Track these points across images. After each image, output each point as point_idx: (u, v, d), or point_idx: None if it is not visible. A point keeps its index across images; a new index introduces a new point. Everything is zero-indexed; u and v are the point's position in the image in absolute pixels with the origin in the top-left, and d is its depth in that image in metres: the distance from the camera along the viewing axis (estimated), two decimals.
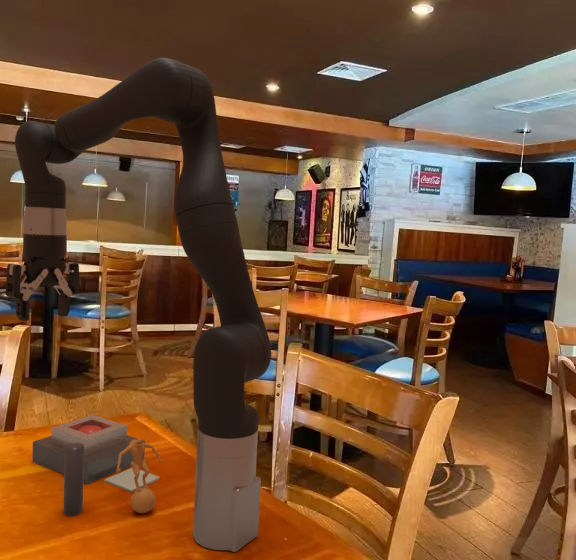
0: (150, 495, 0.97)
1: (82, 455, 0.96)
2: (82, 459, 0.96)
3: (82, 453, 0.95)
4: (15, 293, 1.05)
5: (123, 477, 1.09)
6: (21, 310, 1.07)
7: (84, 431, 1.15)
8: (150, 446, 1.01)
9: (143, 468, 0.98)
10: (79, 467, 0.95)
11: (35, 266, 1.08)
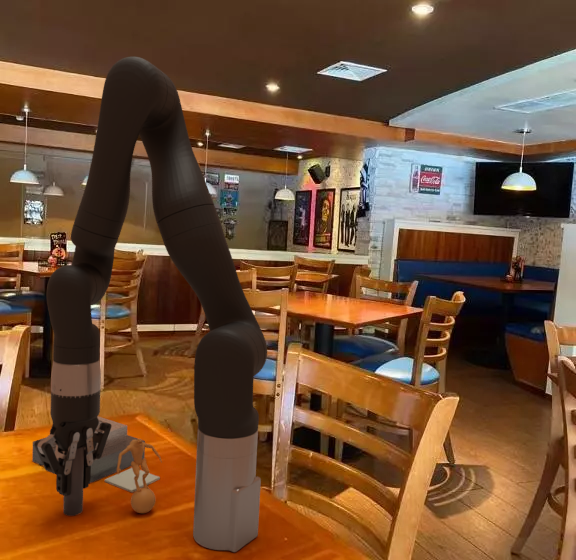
0: (150, 495, 0.97)
1: (82, 455, 0.96)
2: (82, 459, 0.96)
3: (82, 453, 0.95)
4: (56, 469, 0.92)
5: (123, 477, 1.09)
6: (62, 485, 0.94)
7: None
8: (150, 446, 1.01)
9: (143, 468, 0.98)
10: (79, 467, 0.95)
11: (64, 430, 0.92)
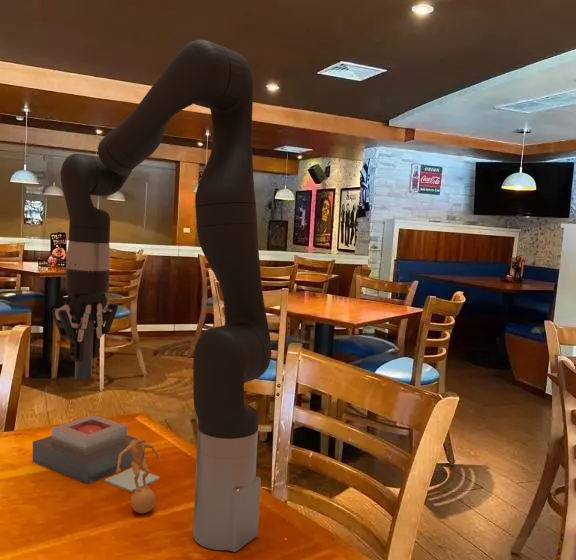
0: (150, 495, 0.97)
1: (92, 327, 1.08)
2: (92, 331, 1.08)
3: (92, 325, 1.08)
4: (71, 335, 1.04)
5: (123, 477, 1.09)
6: (75, 351, 1.06)
7: (84, 431, 1.15)
8: (150, 446, 1.01)
9: (143, 468, 0.98)
10: (89, 337, 1.08)
11: (78, 302, 1.05)
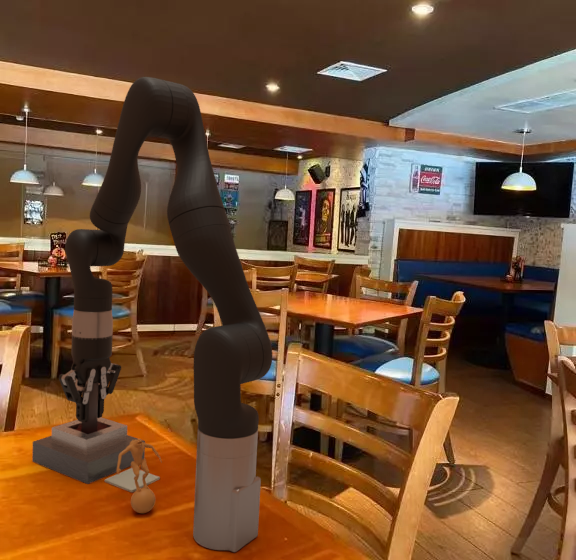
0: (150, 495, 0.97)
1: (97, 389, 1.15)
2: (97, 392, 1.15)
3: (96, 387, 1.15)
4: (76, 399, 1.11)
5: (123, 477, 1.09)
6: (81, 413, 1.13)
7: None
8: (150, 446, 1.01)
9: (143, 468, 0.98)
10: (94, 398, 1.15)
11: (83, 367, 1.12)
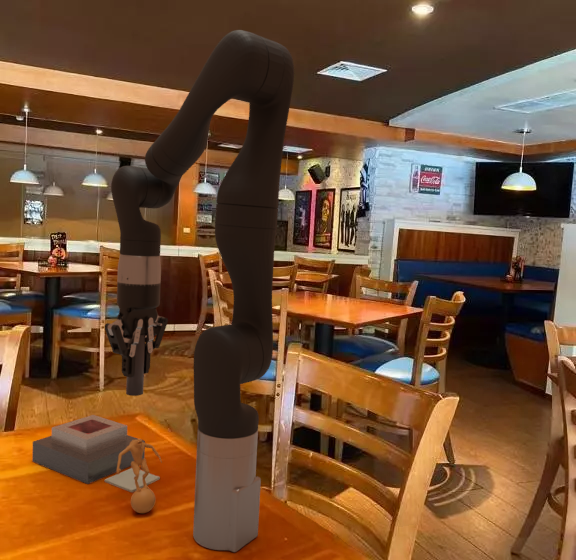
0: (150, 495, 0.97)
1: (144, 342, 1.07)
2: (143, 345, 1.07)
3: (143, 340, 1.06)
4: (123, 350, 1.03)
5: (123, 477, 1.09)
6: (127, 367, 1.05)
7: None
8: (150, 446, 1.01)
9: (143, 468, 0.98)
10: (141, 351, 1.06)
11: (130, 316, 1.03)
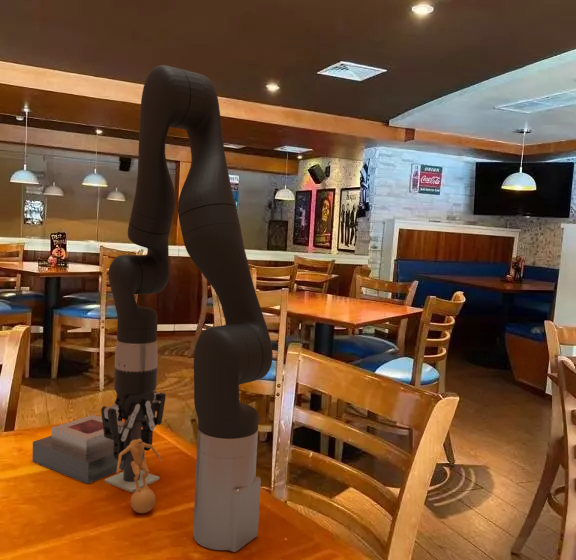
0: (150, 495, 0.97)
1: (140, 428, 1.08)
2: (140, 432, 1.08)
3: (139, 427, 1.08)
4: (115, 436, 1.03)
5: None
6: (119, 451, 1.05)
7: None
8: (150, 446, 1.01)
9: (143, 468, 0.98)
10: (137, 438, 1.07)
11: (127, 402, 1.05)
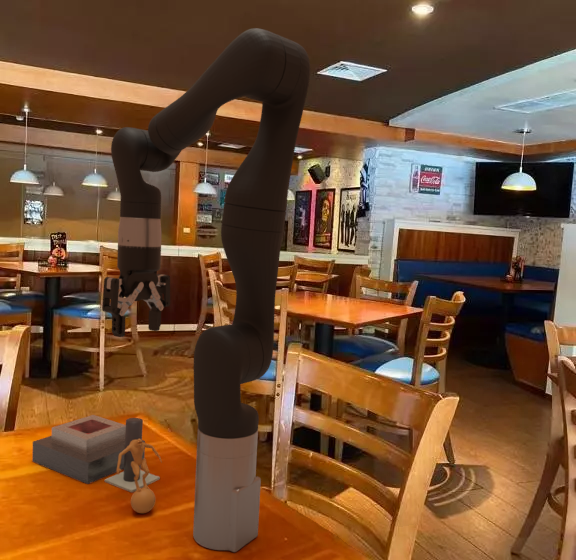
0: (150, 495, 0.97)
1: (141, 428, 1.08)
2: (141, 432, 1.08)
3: (141, 427, 1.08)
4: (113, 308, 1.00)
5: None
6: (118, 326, 1.02)
7: None
8: (150, 446, 1.01)
9: (143, 468, 0.98)
10: (138, 438, 1.08)
11: (131, 279, 1.03)
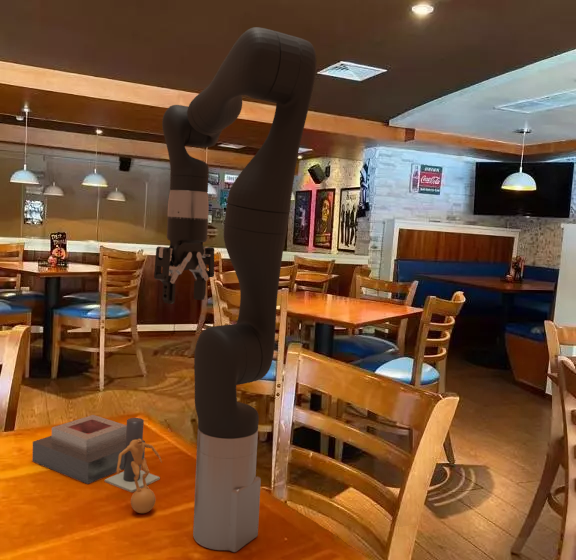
0: (150, 495, 0.97)
1: (142, 428, 1.08)
2: (142, 432, 1.08)
3: (141, 427, 1.08)
4: (165, 276, 1.05)
5: None
6: (168, 293, 1.07)
7: None
8: (150, 446, 1.01)
9: (143, 468, 0.98)
10: None
11: (181, 249, 1.08)
